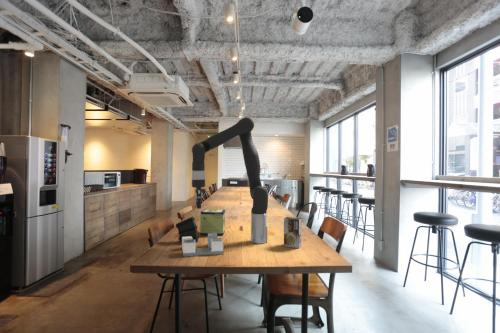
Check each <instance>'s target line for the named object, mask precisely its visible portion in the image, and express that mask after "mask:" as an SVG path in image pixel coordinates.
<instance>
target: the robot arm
mask: <svg viewBox="0 0 500 333" xmlns="http://www.w3.org/2000/svg"><path fill="white" fill-rule="evenodd" d="M254 128H255V122H254V120H253V119H252V118H250V117H242V118H240V119H238V120H237V122H236V123H235V124H233V125H232V126H230V127H228V128H226V129H224V130H222V131H219V132H217V133H215V134H213V135H211V136H209V137H208V138H206V139H204V140H202V141H200V142H197V143H195V144H194V145H192V147H191V153H192V163H191V171H192V172H191V188H195V190H194V196H195V200H196V201H195V202H196V205H195V206H196V208H197V210H199V209H202V200H203V199H202V198H203V190H202V189H201V188H205V187H206V171H205V170H206V167H205V166H206V165H205V159H206V153H208V152H209V151H211V150H213V149H216V148H218V147H219V146H222V145H224V144H225V143H227V142H229V141H231V140H233V139H234V138H236V137H238V136H239V137H238V138H239V140H240V144H241V150H242V151H241V152H242V156H243V162H244V166H245V171H246V174H247V179H248V184H249V194H250V195H249V196H250V198H251V199H252V207H251V212H250V213H251V214H250V220H251V221H250V242H251V243H252V244H258V245H259V244H265V243H268V225H267V210H268V207H269V206H268V205H269V192H268V190H267V189H266V188H265V187H264V186H263V185H262V182H261V162H260V161H261V160H260V157H259V152H258V150H257V147H256V145H255V144H254V140H253V137H252V131H253V130H254Z"/></svg>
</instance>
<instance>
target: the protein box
mask: <svg viewBox="0 0 500 333" xmlns="http://www.w3.org/2000/svg"><path fill="white" fill-rule="evenodd" d="M199 218H200V220H199V222H200V224H199V227H200V228H199V236H208V234H209V233H217V237H218V236H223V237H224V234H225V233H226V230H225V228H226V209H202V210H201V211H200V217H199Z"/></svg>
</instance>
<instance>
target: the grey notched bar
mask: <svg viewBox="0 0 500 333" xmlns="http://www.w3.org/2000/svg"><path fill="white" fill-rule="evenodd" d="M196 244H197V243H196V242H195V239H191V240H183V249H182V257H183V258H184V257H185V258H186V257H201V256H216V255H217V256H218V255H224V240H223V237H217V238H212V239H210V247H205V248H204V247H203V248H196V246H197V245H196Z"/></svg>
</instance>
